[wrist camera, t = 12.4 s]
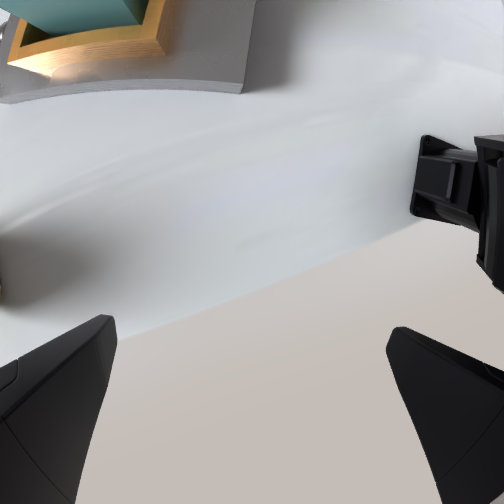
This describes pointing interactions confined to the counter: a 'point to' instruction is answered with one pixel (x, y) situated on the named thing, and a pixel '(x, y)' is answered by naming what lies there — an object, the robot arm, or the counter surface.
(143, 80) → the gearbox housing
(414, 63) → the counter surface
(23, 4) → the oil can
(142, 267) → the counter surface
